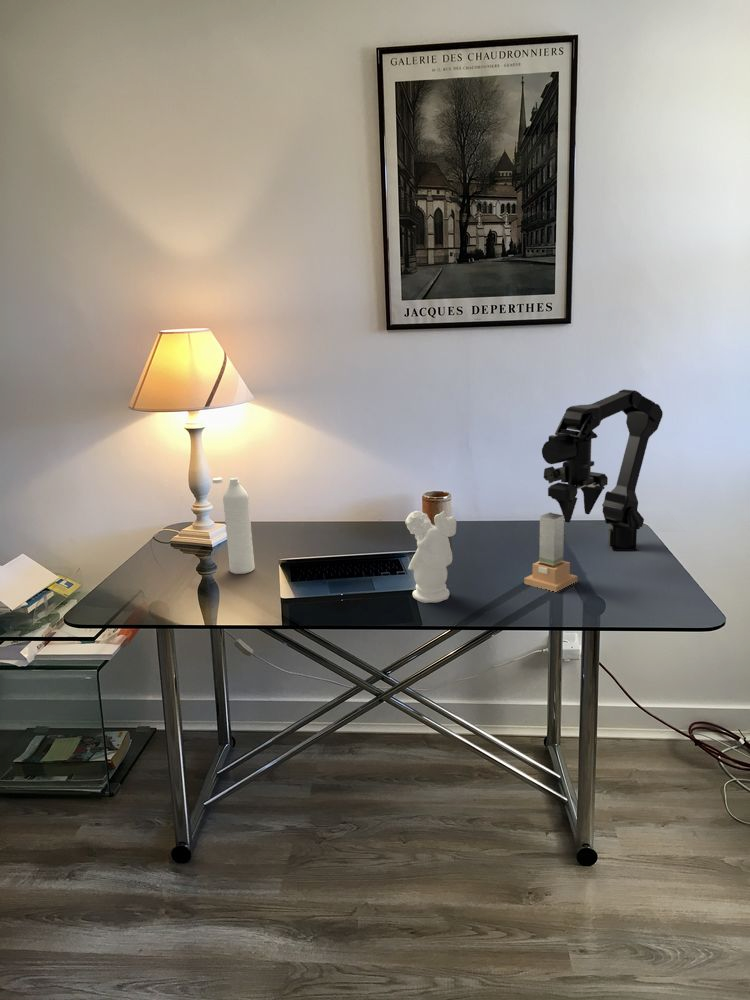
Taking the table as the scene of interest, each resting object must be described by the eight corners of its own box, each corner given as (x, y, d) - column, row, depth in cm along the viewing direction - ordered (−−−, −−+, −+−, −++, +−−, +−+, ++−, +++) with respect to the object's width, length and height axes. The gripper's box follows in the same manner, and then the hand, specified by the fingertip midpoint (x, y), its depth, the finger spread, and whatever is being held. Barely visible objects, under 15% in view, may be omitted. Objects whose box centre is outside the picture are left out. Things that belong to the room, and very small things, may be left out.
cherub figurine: (402, 594, 188) (398, 505, 182) (442, 581, 195) (439, 495, 189) (435, 609, 178) (431, 515, 173) (475, 595, 185) (473, 504, 180)
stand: (545, 573, 197) (545, 554, 195) (577, 581, 190) (577, 562, 189) (524, 583, 191) (524, 564, 189) (556, 592, 185) (556, 572, 183)
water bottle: (256, 565, 212) (248, 474, 205) (252, 573, 206) (244, 480, 199) (224, 566, 212) (215, 475, 205) (219, 575, 206) (209, 482, 199)
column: (548, 557, 192) (549, 512, 189) (563, 561, 189) (564, 515, 186) (539, 562, 189) (539, 516, 186) (553, 565, 186) (554, 519, 183)
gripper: (571, 447, 208) (570, 504, 212) (529, 460, 195) (529, 520, 199) (609, 452, 200) (607, 511, 204) (569, 466, 188) (567, 529, 192)
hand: (577, 518), depth 200 cm, fingers open, 9 cm apart
